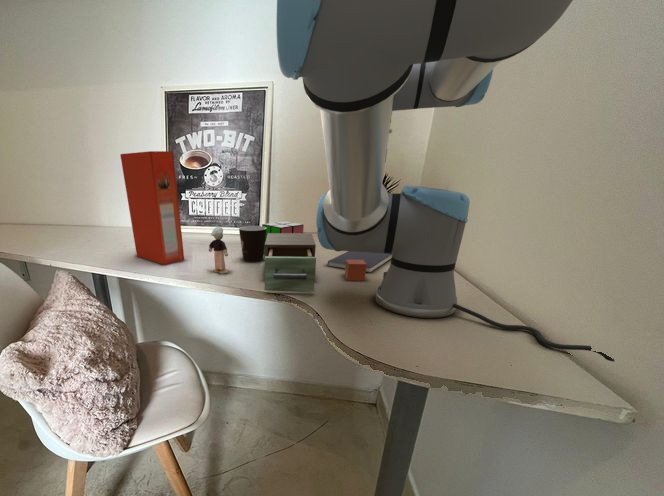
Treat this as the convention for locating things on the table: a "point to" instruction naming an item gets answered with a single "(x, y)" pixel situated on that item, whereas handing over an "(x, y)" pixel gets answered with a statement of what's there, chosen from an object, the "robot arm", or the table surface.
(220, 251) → the grandmother figurine
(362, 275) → the block
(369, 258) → the notebook
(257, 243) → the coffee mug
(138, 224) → the file binder
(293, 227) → the puzzle cube
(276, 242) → the cabinet
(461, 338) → the table surface
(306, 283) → the drawer
